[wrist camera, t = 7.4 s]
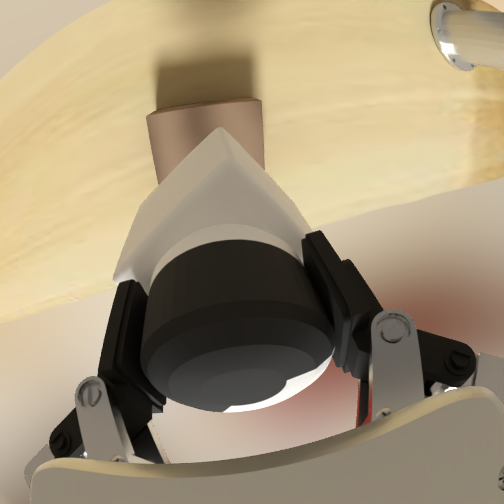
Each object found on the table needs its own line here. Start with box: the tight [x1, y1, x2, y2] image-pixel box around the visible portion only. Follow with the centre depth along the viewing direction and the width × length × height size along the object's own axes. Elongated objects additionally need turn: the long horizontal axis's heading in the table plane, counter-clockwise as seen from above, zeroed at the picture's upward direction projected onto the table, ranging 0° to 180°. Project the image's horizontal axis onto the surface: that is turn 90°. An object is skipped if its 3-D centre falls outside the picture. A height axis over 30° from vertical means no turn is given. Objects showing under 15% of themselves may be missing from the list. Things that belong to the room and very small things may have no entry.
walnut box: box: [146, 98, 265, 184], centre depth 28 cm, size 11×11×6 cm
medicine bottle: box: [113, 127, 336, 412], centre depth 12 cm, size 7×7×12 cm
